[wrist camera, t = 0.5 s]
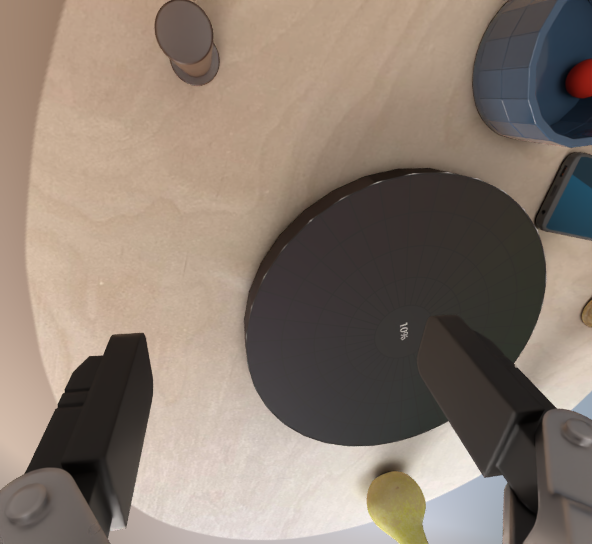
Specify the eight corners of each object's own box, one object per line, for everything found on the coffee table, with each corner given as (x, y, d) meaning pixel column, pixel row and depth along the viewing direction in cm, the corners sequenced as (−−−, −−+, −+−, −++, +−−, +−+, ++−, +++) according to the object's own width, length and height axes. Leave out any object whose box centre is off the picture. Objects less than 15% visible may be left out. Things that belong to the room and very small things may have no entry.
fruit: (352, 474, 48) (392, 583, 37) (405, 449, 48) (461, 550, 37) (367, 501, 51) (409, 609, 40) (417, 477, 51) (472, 579, 40)
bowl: (446, 65, 29) (499, 58, 24) (565, -60, 27) (652, -98, 22) (510, 166, 34) (566, 179, 29) (615, 66, 32) (697, 60, 27)
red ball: (551, 79, 30) (581, 77, 28) (579, 51, 30) (613, 47, 28) (564, 105, 32) (594, 106, 29) (592, 79, 31) (625, 78, 29)
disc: (530, 362, 46) (550, 379, 43) (304, 462, 45) (310, 485, 42) (514, 111, 32) (542, 112, 29) (185, 249, 31) (183, 263, 28)
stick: (160, 59, 25) (122, 30, 14) (191, 20, 25) (176, -41, 14) (198, 96, 27) (191, 96, 16) (228, 60, 26) (242, 34, 15)
